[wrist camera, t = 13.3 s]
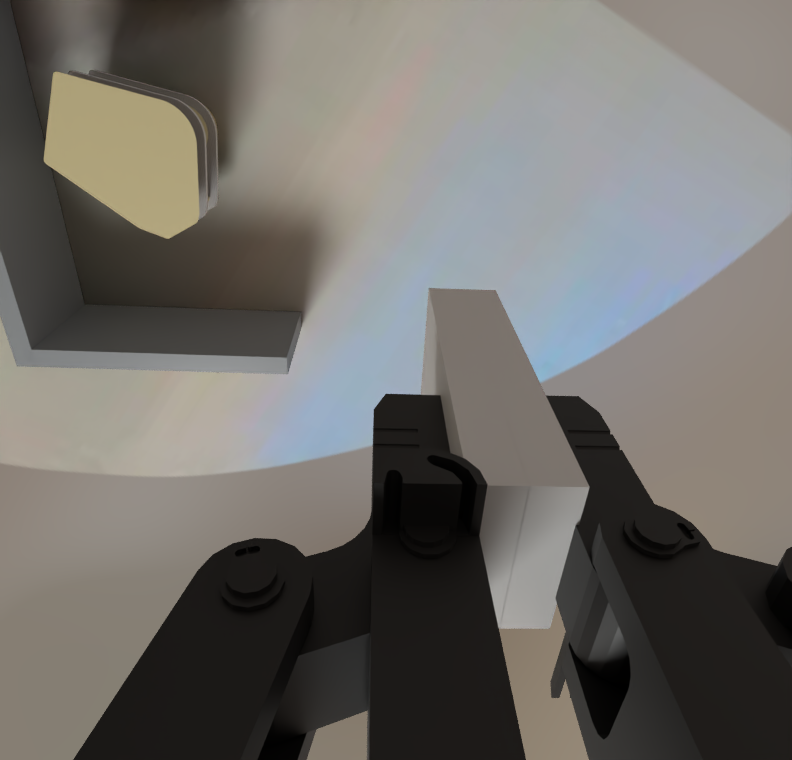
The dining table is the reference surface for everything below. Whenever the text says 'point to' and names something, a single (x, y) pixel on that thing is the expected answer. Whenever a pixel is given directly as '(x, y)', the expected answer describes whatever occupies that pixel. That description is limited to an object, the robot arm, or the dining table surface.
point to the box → (59, 285)
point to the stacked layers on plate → (134, 148)
